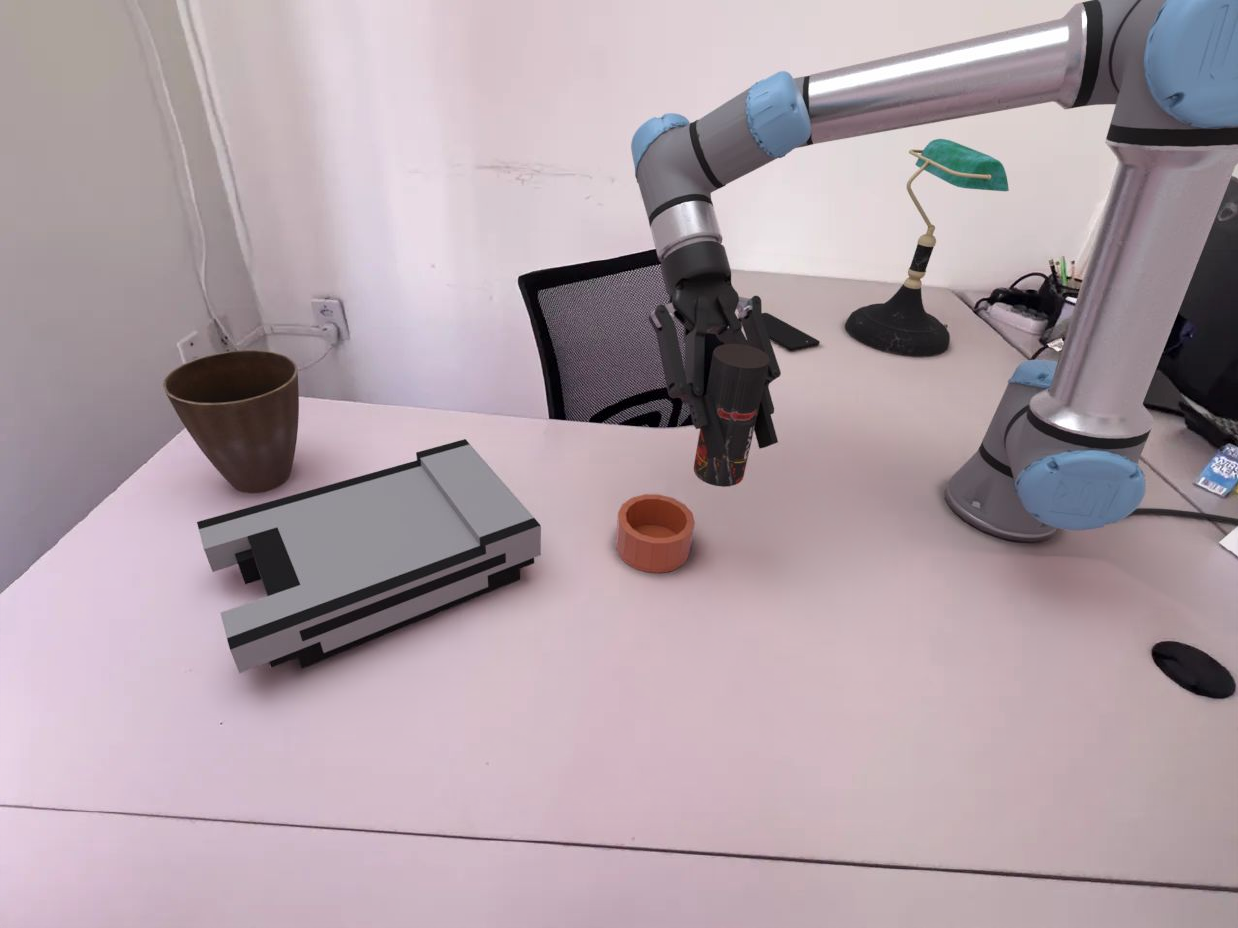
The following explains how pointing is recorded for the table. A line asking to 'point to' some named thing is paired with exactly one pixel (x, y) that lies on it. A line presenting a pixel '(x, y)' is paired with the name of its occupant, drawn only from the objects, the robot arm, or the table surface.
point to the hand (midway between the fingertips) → (743, 450)
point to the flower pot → (240, 414)
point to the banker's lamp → (924, 259)
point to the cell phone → (786, 334)
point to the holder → (654, 533)
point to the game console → (369, 555)
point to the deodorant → (732, 410)
